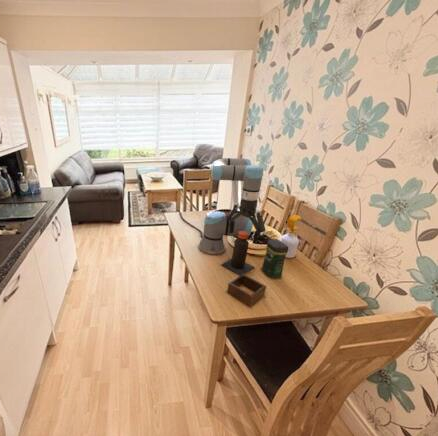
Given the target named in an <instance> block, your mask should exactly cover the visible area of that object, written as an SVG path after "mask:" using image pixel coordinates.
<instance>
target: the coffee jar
mask: <svg viewBox="0 0 438 436" xmlns="http://www.w3.org/2000/svg"><path fill="white" fill-rule="evenodd" d="M280 240H281V239H279V238H270V239H269V240H268V241H267V243H266V251H265V255H264V258H263V262H262V265H261V271H262V272H263V273H264V274H265V275H266V276H267V277H269V278H273V279H278V278H281V277H282V276H283V275H282V274H283V270H284V264H285V259H286V257H285V256H286V254H287V253H288V246H287V245H286V244H284V243H283V242H282V241H280Z"/></svg>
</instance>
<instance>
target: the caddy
mask: <svg viewBox="0 0 438 436" xmlns="http://www.w3.org/2000/svg"><path fill="white" fill-rule="evenodd" d="M240 286H244V287H246V288H248V289H249V290H251V291H253V293H248V292H247V291H245V290H243V288H241V287H240ZM266 289H267V285H265V284H263V283H261V282H260V281H258V280H256V279H255V278H252V277H250V276H248V275H247V274H246V273H245V274H242V275H238V276H237V277H235V278H234V279H232V280H231V281H230V282H228V285H227V291H226V292H227V294H229V295H231V296H232V297H234V298H235V299H237V300H238V301H240V302H241V303H242V304H244V305H246V306H248V307H249V308H251V307H252V306H253V305H255V303H257V302H258V301H260V299H262V298H263V297H265V293H266Z"/></svg>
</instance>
